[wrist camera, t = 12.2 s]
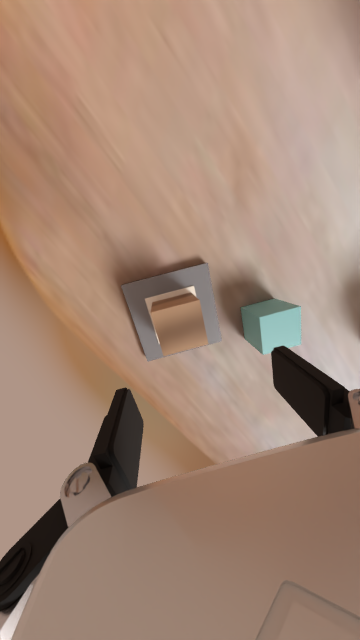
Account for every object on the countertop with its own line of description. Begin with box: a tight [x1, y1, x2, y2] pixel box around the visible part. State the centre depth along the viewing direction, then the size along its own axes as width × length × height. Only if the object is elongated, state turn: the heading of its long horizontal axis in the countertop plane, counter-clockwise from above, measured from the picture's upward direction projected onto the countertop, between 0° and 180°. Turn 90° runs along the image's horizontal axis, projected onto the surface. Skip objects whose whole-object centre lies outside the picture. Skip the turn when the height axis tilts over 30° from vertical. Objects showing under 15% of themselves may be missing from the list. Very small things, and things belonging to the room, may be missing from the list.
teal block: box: [241, 299, 301, 355], centre depth 28 cm, size 6×6×6 cm
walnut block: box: [150, 292, 208, 356], centre depth 25 cm, size 6×6×6 cm
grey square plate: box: [121, 263, 222, 361], centre depth 28 cm, size 13×13×1 cm
